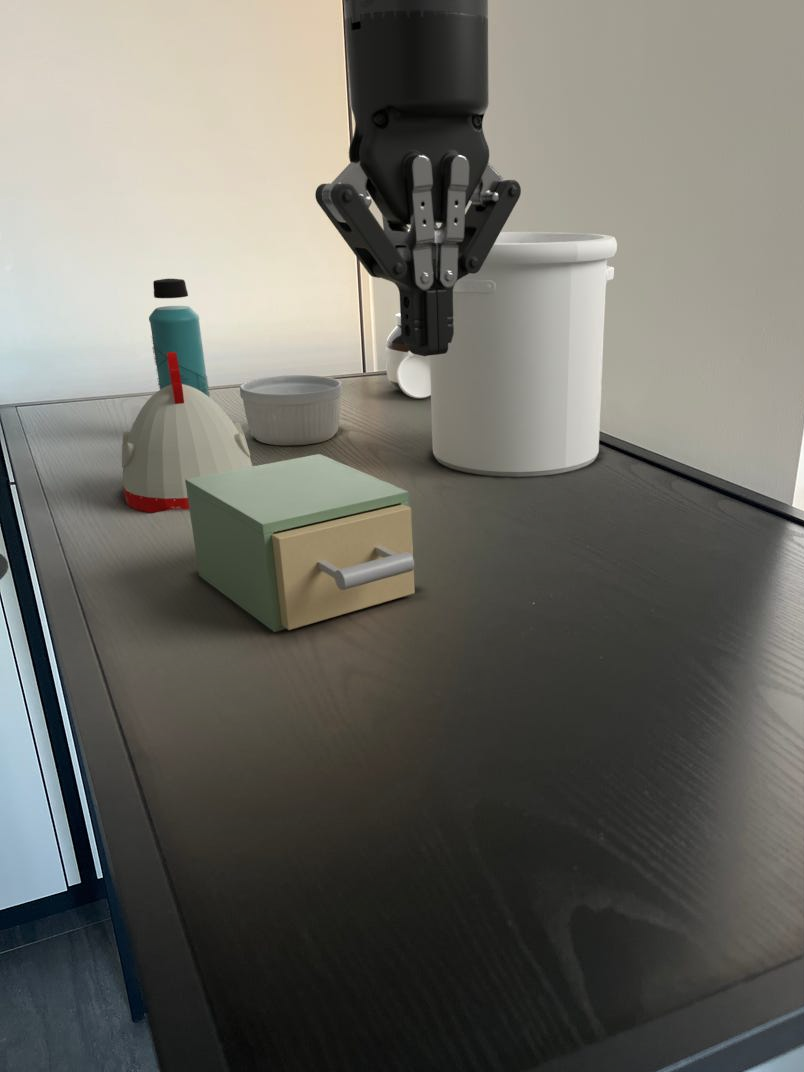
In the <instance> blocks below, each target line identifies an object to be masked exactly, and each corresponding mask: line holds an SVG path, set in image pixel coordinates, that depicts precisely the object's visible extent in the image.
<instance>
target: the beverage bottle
mask: <svg viewBox="0 0 804 1072" xmlns="http://www.w3.org/2000/svg"><path fill="white" fill-rule="evenodd" d="M152 284H153V286H152V287H153V298H154V299H181V298H186V297H188V296H189V293H188V292H189V291H188V289H187V285H186V281H185V279H182V278H160V279H156V280H153V283H152ZM148 322H149V324H150V331H151V339H150V340H151V342H152V345H153V346H152V352H153V353H152V354H153V359H154V364H155V366H156V370H155V371H156V372H155V374H157V386H158V388H159V390H161V389H162V388H164V387H166V386H169V385H171V380H170V374H169V367H168V359H167V353H169V352H176V355H177V360H178V366H179V371H180V378H181V383H182V384H184V385H188V386H191V387H193V388H195V389H197V390H199V391H201V392H203V393H204V394H206V395H207V396H208V397H210V398H211V395H210V394H211V393H210V389H209V387H210V386H209V381H208V380H209V379H208V376H207V370H206V364H205V362H206V361H205V355H204V347H203V339H202V331H201V324H200V323H201V322H200V315H199V314H198V313H197V312H196V311H195V310H194V309H193V308H191V307H190V306H188V305H166V306H158V307H156V308H154V309H153V311H152V312H151V314H150V315H149V316H148Z"/></svg>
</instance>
